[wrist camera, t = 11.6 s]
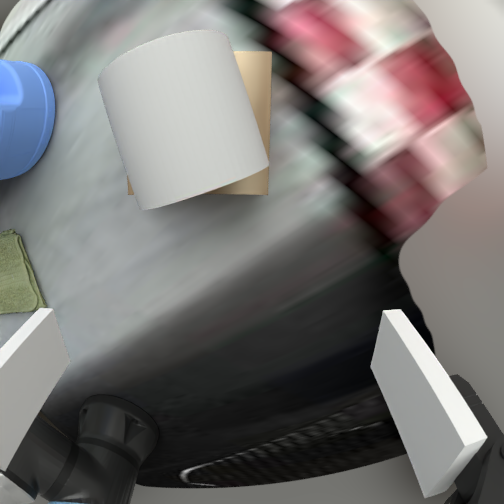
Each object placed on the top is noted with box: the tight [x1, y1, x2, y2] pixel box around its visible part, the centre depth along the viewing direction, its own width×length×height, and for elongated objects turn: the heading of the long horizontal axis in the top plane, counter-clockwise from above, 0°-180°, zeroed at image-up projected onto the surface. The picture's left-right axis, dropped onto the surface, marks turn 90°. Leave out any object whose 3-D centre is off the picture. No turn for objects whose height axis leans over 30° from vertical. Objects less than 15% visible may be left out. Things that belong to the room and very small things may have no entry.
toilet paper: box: [98, 30, 269, 210], centre depth 22 cm, size 10×10×10 cm
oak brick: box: [127, 51, 272, 195], centre depth 30 cm, size 13×13×7 cm
